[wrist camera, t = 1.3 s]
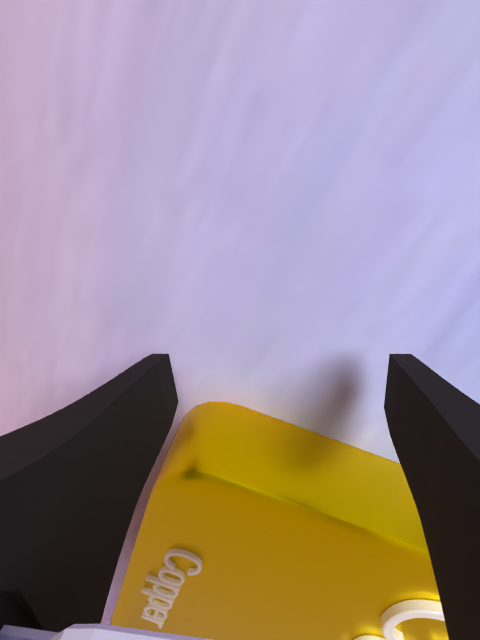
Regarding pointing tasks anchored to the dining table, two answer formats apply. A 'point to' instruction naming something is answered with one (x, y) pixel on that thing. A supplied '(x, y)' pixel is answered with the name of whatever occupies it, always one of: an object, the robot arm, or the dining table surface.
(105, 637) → the robot arm
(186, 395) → the dining table surface
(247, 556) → the element tile
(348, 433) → the dining table surface
